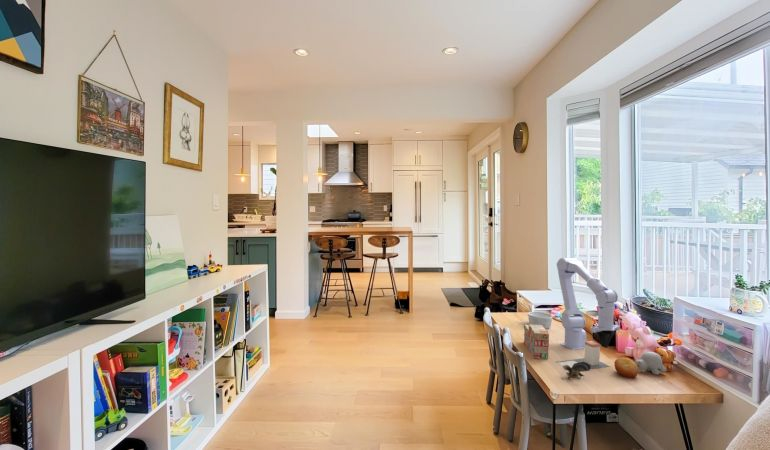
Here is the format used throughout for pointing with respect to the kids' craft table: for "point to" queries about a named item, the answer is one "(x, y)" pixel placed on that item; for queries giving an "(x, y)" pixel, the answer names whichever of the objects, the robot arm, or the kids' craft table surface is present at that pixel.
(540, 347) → the stack of blocks
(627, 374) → the fruit
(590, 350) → the tall block
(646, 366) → the toy rhinoceros
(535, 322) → the ramekin
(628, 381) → the kids' craft table surface
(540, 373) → the kids' craft table surface
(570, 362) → the mat
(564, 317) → the robot arm
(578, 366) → the squirrel figurine
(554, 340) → the kids' craft table surface
